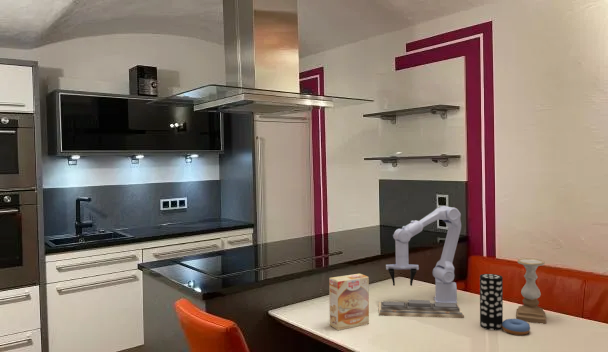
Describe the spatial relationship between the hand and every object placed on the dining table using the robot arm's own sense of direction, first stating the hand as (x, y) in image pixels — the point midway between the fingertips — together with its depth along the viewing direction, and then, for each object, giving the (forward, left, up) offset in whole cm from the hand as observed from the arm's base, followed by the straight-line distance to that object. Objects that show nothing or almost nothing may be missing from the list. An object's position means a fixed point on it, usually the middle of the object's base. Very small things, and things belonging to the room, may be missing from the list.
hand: (402, 285), depth 218 cm
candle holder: (-51, +13, -9) cm, 54 cm away
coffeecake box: (+23, +28, -9) cm, 38 cm away
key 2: (-18, +8, -8) cm, 21 cm away
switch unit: (-7, +8, -9) cm, 14 cm away
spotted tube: (-33, +25, -9) cm, 42 cm away
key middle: (-7, +8, -6) cm, 12 cm away
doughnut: (-41, +29, -10) cm, 51 cm away
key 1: (+4, +8, -8) cm, 12 cm away
